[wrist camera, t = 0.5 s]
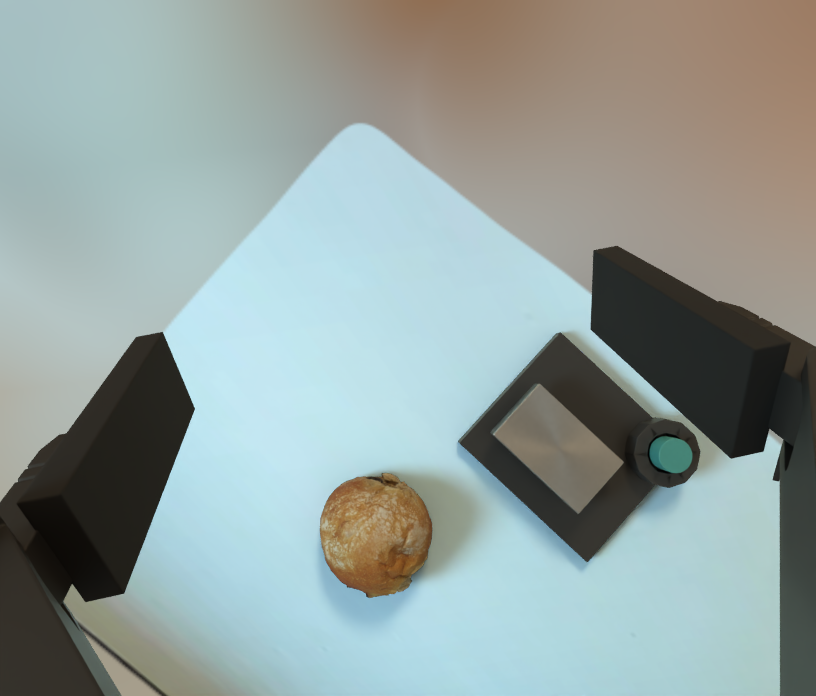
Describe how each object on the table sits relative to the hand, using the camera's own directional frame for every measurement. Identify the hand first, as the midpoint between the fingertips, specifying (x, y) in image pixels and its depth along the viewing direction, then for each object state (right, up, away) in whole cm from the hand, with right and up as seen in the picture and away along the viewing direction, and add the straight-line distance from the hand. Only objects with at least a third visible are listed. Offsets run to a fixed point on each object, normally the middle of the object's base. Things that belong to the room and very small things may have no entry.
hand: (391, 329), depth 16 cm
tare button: (+24, -10, +30) cm, 40 cm away
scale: (+16, -10, +33) cm, 38 cm away
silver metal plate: (+13, -9, +30) cm, 34 cm away
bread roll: (-2, -17, +32) cm, 36 cm away
